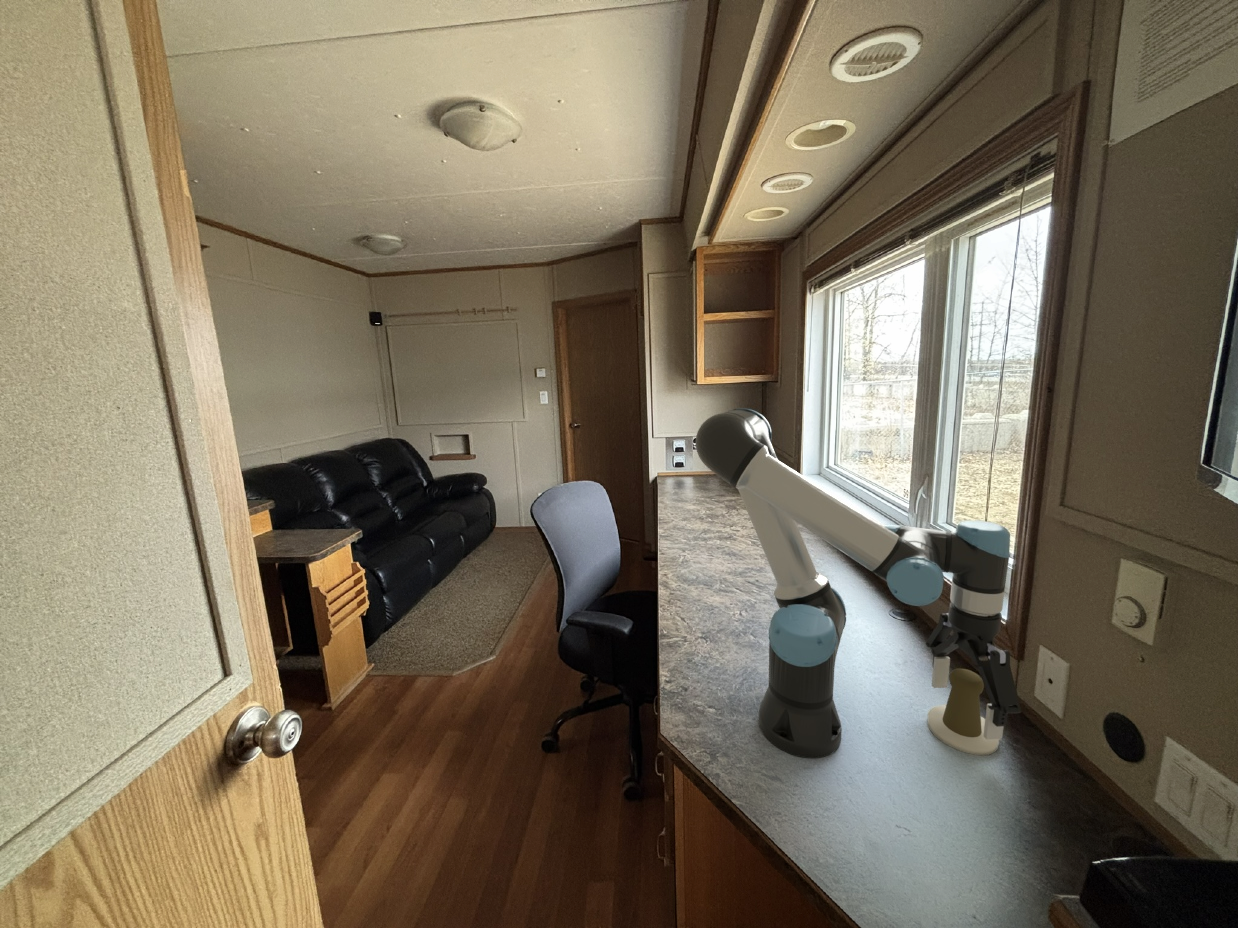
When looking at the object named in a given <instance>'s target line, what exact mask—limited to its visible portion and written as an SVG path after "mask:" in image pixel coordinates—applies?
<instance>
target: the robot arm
mask: <svg viewBox="0 0 1238 928" xmlns="http://www.w3.org/2000/svg"><path fill="white" fill-rule="evenodd" d="M772 436H773V435H772V427H771V424H770V423H769V421H768V420H767V419H766V417H765V416H764V415H763V414H761V413H760V412H758V411H756V410H755V409H754V410H753V409H750V408H746V407H745V408H742V407H739V408H734V409H730V410H728V411H725V412H722V413H721V412H720V413H717V414H715V415H712V416H710V417H708V418H706V420H705V421H703V422H702V424H701V425H700V427H699V428H698V430H697V433H696V436H695V447H696V448H695V449H696V452H697V455H698V457H699V460H701V462H702V463H703V464H704V466H706V468H708V469H709V470H710V471H711V472H713V473H714V474H715V475H716V476H717V477H719V478H721V479H722V480H723V481H724V482H726V483H728V484H729V485H730V486H732V487H734V488H736V489H737V490H738V492H739V495H740V498H741V500H742V502H743V504H744V507H745V510H746V512H747V513H748V517H749V518H750V521H751V524H752V527H753V529H754V531H755V534H756V535H757V538H758V541H759V543H760V545H761V546H760V547H761V549H762V550H763V552H764V555H765V558H766V560H767V562H768V565H769V567H770V570H771V572H772V574H773V576H774V580H775V581H776V586H775V588H774V590H773V596H774V598H775V600H776V603H777V605H778V608H779V609H777V610H776V611H775V612H774V613H773V615H772V616H771V619H770V622H769V624H770V625H769V627H768V640H769V645H768V646H769V648H768V652H769V653H768V686H767V688H766V691H765V694H764V696H763V698H762V701H761V703H760V705H759V708H758V725H759V728H760V731H761V732H762V734H763V736H764V737H765V738H766V740H768V741H769V742H770V743H771V744H772V745H773V746H774V747H777V748H778V749H780V750H782V751H783V752H785V753H787V754H791V755H793V756H796V757H800V758H801V757H802V758H808V759H816V758H823V757H827V756H829V755H831V754H833V753H835V752H836V751H837V749H839V747H840V745H841V741H842V730H843V729H842V724H841V720H840V716H839V714H838V711H837V707H836V704H835V702H834V684H835V683H834V682H835V666H836V660H837V655H838V651H839V647H840V643H841V640H842V639H841V638H842V635H843V633H844V630H845V626H846V624H847V623H846V622H847V609H846V606H845V602H844V599H843V598H842V596H841V595H840V594H839V592H838V591H837V590H836V589H835V588H833V587H831V584H830V581H829V579H828V577H827V576H826V575H824V574H822V573H820V572H818V571H817V569H816V568H815V565H814V562H813V559H812V557H811V555H810V553H809V550H808V548H807V545H806V544H805V541H804V539H803V536H802V533H801V531H800V529H799V526H798V524H800V525H801V526H802V527H804V528H806V529H807V530H809V531H810V532H812V534H813V535H816V536H817V537H819V538H821V540H823V541H825V542H826V543H828V544H830V546H832V547H834V548H835V549H837V550H838V551H840V552H842V553H844V554H845V555H847V556H848V557H849V558H851V559H852V560H853V561H855V562H856V563H859V564H860V565H861V566H863V567H865V568H866V569H867V570H868V571H871V572H872V573H873V574H875V575H876V576H877V577H879V578H880V579H882V580H883V581H885V582H886V583H887V586H888V588H889V591H890V592H891V594H892V595H893V596H894V597H895V598H896V599H897V600H898V601H900V602H901V603H903V604H906V605H910V606H913V607H914V606H915V607H923V606H927V605H930V604H932V603H934V602H935V601H937V600H938V599H939V598H940V596H941V595H942V592H943V588H944V581H945V576H944V573H945V574H946V573H950V574H952V579H951V585H950V595H949V599H950V603H949V609H948V612H947V613H940V616H939V620H938V623H937V624H936V626H935V628H933V631H932V632H931V633H930V635H929V637H927V640H926V641H925V645H926V647H927V648H930V649H931V654H932V655H933V657H932V674H931V675H932V676H931V687H932V688H933V689H939V688H940V689H941V688H948V684H949V675H950V673H949V672H950V664H951V658H950V657H949V656H947V655H951V653H952V652H954V651H955V650H957V649H958V650H960V651H961V652H963V653H965V654H966V655H967V656H968V657H969V658H970V659H971V662H972V664H973V666H975V667H976V668H977V670H978V672H979V676H980V677H981V679H982V681H983V684H984V688H985V691H986V693H987V696H988V699H989V700H990V703H987V704H986V710H985V718H984V719H985V726H984V734H983V737H984V738H985V739H986V740H990V739H999V740H1002V739H1003V734H1004V727H1006V726H1007V723H1008V716H1009V715H1008V714H1021V713H1022V708H1021V705H1020V700H1019V696H1018V693H1017V688H1016V684H1015V680H1014V677H1013V672H1012V668H1011V653H1010V652H1009V650H1008V649H999V648H998V647H996V646H995V641H994V639H995V637H996V636H997V635H998V634H999V633H1000V632H1001V625H1002V615H1003V614H1002V612H1003V607H1004V597H1005V590H1006V584H1007V583H1006V582H1007V577H1008V575H1007V574H1008V570H1009V569H1008V568H1009V561H1010V558H1011V553H1010V549H1011V547H1010V545H1011V543H1010V542H1011V532H1009V530H1008V529H1007V528H1006V527H1005V526H1003V525H1001V524H998V523H994V522H991V521H985V520H976V519H975V520H962V521H961V522H959V523H958V524H957V527H956V529H955V531H953V530H949V531H948V530H941V529H935V528H934V529H932V528H923V527H917V526H908V525H904V524H885V525H882V524H881V523H879V522H878V521H876V520H874V519H873V518H871V517H870V516H868V515H866V514H865V513H863V512H862V511H860V510H859V509H857V508H856V507H854V506H851V505H852V504H849V503H847V502H845V501H844V500H843V499H841V498H839V497H838V496H836V495H834V494H833V493H832V492H829V490H827V489H825V488H824V487H822V486H820V485H818V484H817V483H815V482H813V481H812V480H811V479H809V478H808V477H806V476H804V475H803V474H800V473H799V472H797V471H796V470H795V469H793V468H791V467H789V466H788V465H786V464H785V463H783V462H782V461H780V460H779V459H778V457H777V454H776V452H775V450H774V447H773V444H772V440H773V439H772V438H773V437H772ZM797 523H798V524H797ZM952 632H953V633H952ZM984 658H987V660H986V659H985V660H981V659H984Z"/></svg>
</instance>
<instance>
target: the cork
mask: <svg viewBox="0 0 1238 928" xmlns="http://www.w3.org/2000/svg"><path fill="white" fill-rule="evenodd" d="M948 681H949V683H950V686H951V688H950V691H949V695H948V698H947V701H946V704H945V705H946V708H945V712H944V715H943V718H942V719H943V723H944V724H945V726H946V727H947V728H949V729H950V730H951V731H953V732H955V733H957V734H959V735H962V736H966V737H978V736H980V735H981V733H982V730H981V717H982V716H981V715H982V714H981V702H980V695H981V694H982V693H983V691H984V688H985V686H984V683H983V681H982V678H981V675H980V674H978V673H976V672H974V671H972V670H970V669H966V668H954V669H953V670H952V671H951V672H950V673H949V675H948Z"/></svg>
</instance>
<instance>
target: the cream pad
mask: <svg viewBox="0 0 1238 928" xmlns="http://www.w3.org/2000/svg"><path fill="white" fill-rule="evenodd" d="M946 705H947V704H941V705H935V706H932V707H931V708H930V709H929V710H928V712H927V720H926V723H927V724H926V725H927V727H928V729H929V730H930V732H931V733H932V734H933V736H935V737H936V738H937V739H938V740H940V741H941V742H942V743H944V744H946V746H948V747H951V748H953V749H955V750H957V751H960V752H963V753H965V754H966V753H967V754H970V755H976V756H988V755H992V754H994V753H996V752H997V750H998V748H999V744H1000V739H990V740H986V739H985V738H984V737H983V734H984V726H985V718H984V717H983V716H981V730H982V733H981V735H980V736H978V737H966V736H962V735H959V734H957V733H955V732H953V731H951V730H950V729H949V728H947V727H946V726H945V724H944V723H943V719H942V718H943V715H944V712H945V708H946Z"/></svg>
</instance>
